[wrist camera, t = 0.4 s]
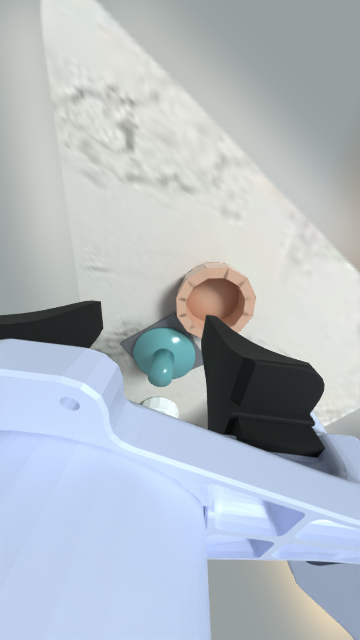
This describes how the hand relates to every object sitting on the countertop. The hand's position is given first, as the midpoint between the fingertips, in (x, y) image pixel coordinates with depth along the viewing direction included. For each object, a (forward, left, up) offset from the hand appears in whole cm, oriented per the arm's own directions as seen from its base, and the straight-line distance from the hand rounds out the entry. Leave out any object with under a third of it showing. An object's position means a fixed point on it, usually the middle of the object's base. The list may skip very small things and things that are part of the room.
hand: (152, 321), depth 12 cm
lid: (-8, +6, -10) cm, 14 cm away
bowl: (-4, -4, -10) cm, 11 cm away
